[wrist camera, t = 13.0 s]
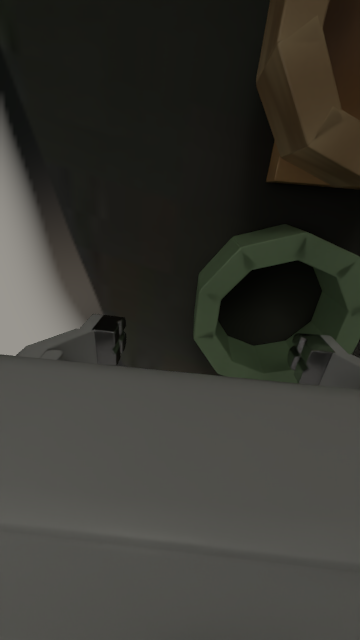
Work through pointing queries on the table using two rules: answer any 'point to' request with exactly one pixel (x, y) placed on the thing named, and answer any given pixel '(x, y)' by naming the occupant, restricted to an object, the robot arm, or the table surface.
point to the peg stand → (350, 77)
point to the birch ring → (306, 94)
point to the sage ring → (262, 251)
